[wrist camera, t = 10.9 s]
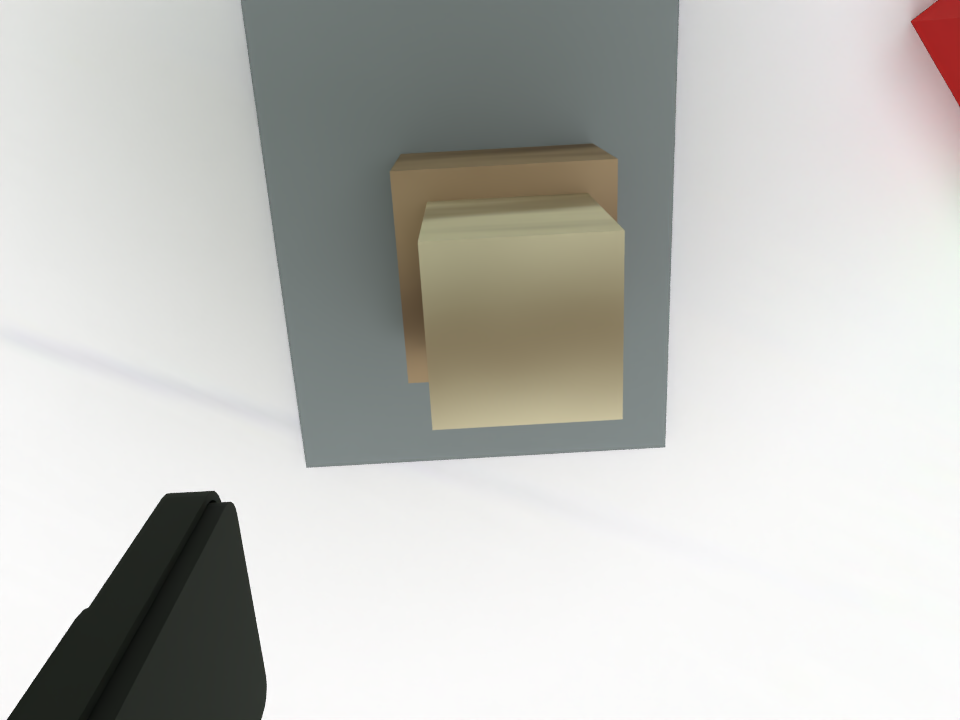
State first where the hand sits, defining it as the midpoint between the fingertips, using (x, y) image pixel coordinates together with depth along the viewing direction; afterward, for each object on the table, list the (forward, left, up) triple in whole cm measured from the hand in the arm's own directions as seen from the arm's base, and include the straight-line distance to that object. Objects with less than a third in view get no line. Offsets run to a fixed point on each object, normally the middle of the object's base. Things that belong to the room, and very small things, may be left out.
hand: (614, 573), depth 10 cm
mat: (-1, -1, -23) cm, 23 cm away
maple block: (+1, 0, -17) cm, 17 cm away
